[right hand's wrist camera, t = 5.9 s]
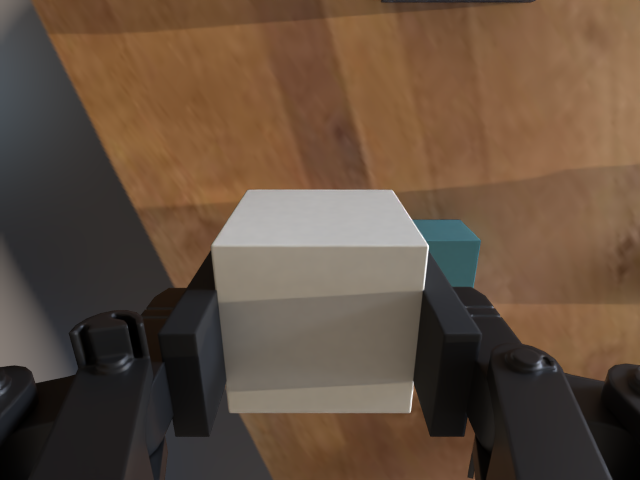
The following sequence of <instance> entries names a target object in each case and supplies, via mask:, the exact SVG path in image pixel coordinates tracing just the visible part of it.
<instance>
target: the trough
mask: <svg viewBox="0 0 640 480" xmlns="http://www.w3.org/2000/svg"><path fill="white" fill-rule="evenodd" d="M533 1H535V0H381V2H533Z"/></svg>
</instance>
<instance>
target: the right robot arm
mask: <svg viewBox="0 0 640 480" xmlns="http://www.w3.org/2000/svg"><path fill="white" fill-rule="evenodd" d="M69 336H70V339H71V343H72V347H73V350H74V354H75V358H76V361H77V365H78V370H77V373H76V375H72V376H68V377H64V378H60V379H54V380H49V381H45V382H40V383H35V381H34V378H33V375H32V372H31V371H30V370H29V369H27V368H26V367H21V366H6V367H0V480H165V472H166V463H167V454H168V451H167V444H166V439H165V434H166V431H167V429H168V427H169V424H170V422H171V420H172V419H173V425H174V430H175V436H176V437H209V436H210V433H211V430H212V426H213V423H214V420H215V417H216V413H217V410H218V407H219V404H220V401H221V397H222V394H223V391H224V388H225V384H226V381H227V380H226V370H225V361H224V352H223V343H222V333H221V324H220V315H219V306H218V296H217V290H215V281H214V272H213V263H212V253H211V251H210V253H209V254H208V256H207V257H206V259H205V260H204V262H203V264H202V265H201V267H200V268H199V270H198V271H197V273H196V274H195V276H194V278H193V279H192V281H191V282H190V284H189V285H188V287H187V288H168V289H167V290H165V291H164V292H162V293H160V294H159V295H157V296H156V297H154V299H153V300H152V301H151V303H150V304H149V305H148V307H147V310H145V311H144V312H143V313H142V314H141V316H140V315H139V314H138V313H137V312H132V311H128V310H116V311H110V312H105V313H100V314H97V315H95V316H92V317H89V318H87V319H85V320H84V321H82V322H80V323H79V324H77V325H76V326H75V327H74V328H73V329H72V330H71V331H70V332H69ZM413 382H414V385H415V389H416V392H417V395H418V398H419V401H420V405H421V408H422V411H423V414H424V418H425V421H426V424H427V427H428V431H429V434H430V437H464V434H465V429H466V423H467V418H469V421H470V423H471V425H472V428H473V430H474V432H475V439H474V444H473V449H472V454H471V460H470V465H469V471H468V478H473V475H474V471H475V480H640V365H633V364H620V365H614V366H613V367H612V368H611V369H609V370H608V373H607V377H606V380H605V382H604V381H599V380H594V379H589V378H584V377H580V376H575V375H571V374H567V373H564V372H563V370H562V368H561V366H560V365H559V364H558V362H557V361H556V360H555V359H554V358H553V357H551V356H550V355H548V354H547V353H546V352H544V351H542V350H539V349H537V348H535V347H533V346H529V345H525V344H522V343H521V342H520V340H519V339H518V338H517V337H516V335H515V334H514V333H513V331H512V330H511V329H510V327H509V326H508V325H507V324H506V322H505V321H504V320H503V318H502V317H500V314H499V313H498V312H497V310H496V309H495V308H493V305H492V304H491V303H490V301H489V300H488V299H487V297H486V296H485V295H483V294H482V293H480V292H479V291H477V290H475V289H474V288H472V287H452V286H451V284H450V283H449V281H448V280H447V278H446V277H445V275H444V273H443V272H442V270H441V269H440V267H439V266H438V264H437V262H436V261H435V259H434V258H433V256H432V255H431V253H430V251H429V250H428V259H427V268H426V277H425V286H424V290H423V294H422V303H421V312H420V321H419V331H418V340H417V349H416V359H415V368H414V377H413Z"/></svg>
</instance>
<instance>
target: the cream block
mask: <svg viewBox="0 0 640 480" xmlns="http://www.w3.org/2000/svg"><path fill="white" fill-rule="evenodd" d="M428 249H429V246H428V244H427V242H426V241H425V239H424V238H423V236H422V235H421V233H420V232H419V230H418V229H417V227H416V225H415V224H414V222H413V221H412V219H411V218H410V216H409V215H408V213H407V212H406V210H405V209H404V207H403V206H402V204H401V203H400V201H399V199H398V198H397V196H396V195H395V193H394V192H393V190H247V191H246V193H245V194H244V196H243V197H242V199H241V200H240V202H239V204H238V205H237V207H236V208H235V210H234V211H233V213H232V214H231V216H230V217H229V219H228V220H227V222H226V223H225V225H224V226H223V228H222V229H221V231H220V232H219V234H218V235H217V237H216V238H215V240H214V242H213V243H212V245H211V253H212V263H213V272H214V281H215V290H217V296H218V306H219V315H220V324H221V333H222V343H223V352H224V361H225V370H226V380H227V381H226V391H227V400H228V409H229V412H230V413H410V412H411V405H412V395H413V386H414V382H413V377H414V368H415V359H416V349H417V340H418V331H419V321H420V312H421V303H422V294H423V290H424V286H425V277H426V268H427V259H428Z"/></svg>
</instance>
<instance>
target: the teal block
mask: <svg viewBox="0 0 640 480" xmlns="http://www.w3.org/2000/svg"><path fill="white" fill-rule="evenodd" d="M412 221H413V222H414V224H415V225H416V227H417V229H418V230H419V232H420V233H421V235H422V236H423V238H424V239H425V241H426V242H427V244H428V246H429V249H428V250H429V251H430V253H431V255H432V256H433V258H434V259H435V261H436V262H437V264H438V266H439V267H440V269H441V270H442V272H443V273H444V275H445V277H446V278H447V280H448V281H449V283H450V284H451V286H452V287H472V288H473V287H474V281H475V274H476V268H477V262H478V256H479V249H480V243H481V240H480V239H479V238H478V237H477V236H476V235H475V234H474V233H473V232H472V231H471V230H470V229H469V228H468V227H467V226H466V225H465V224H464V223H463V222H462V221H461V220H412Z"/></svg>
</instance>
